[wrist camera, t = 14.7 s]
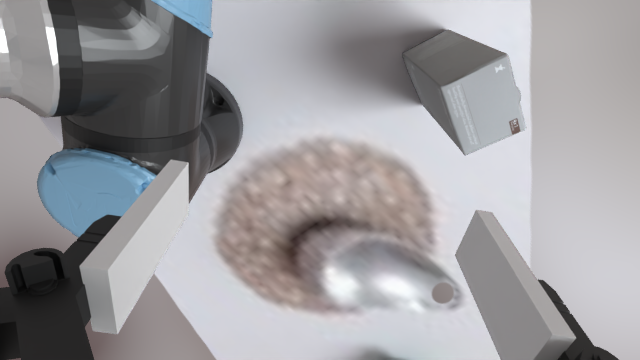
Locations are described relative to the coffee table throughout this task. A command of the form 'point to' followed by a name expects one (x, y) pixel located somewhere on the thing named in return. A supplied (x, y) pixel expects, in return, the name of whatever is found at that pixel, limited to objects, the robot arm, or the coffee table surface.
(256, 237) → the coffee table surface
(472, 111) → the skincare box
